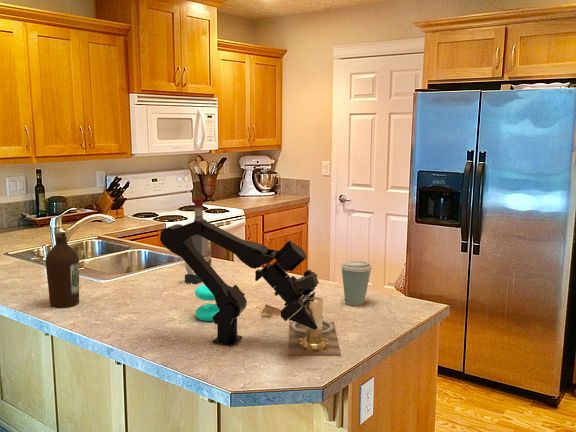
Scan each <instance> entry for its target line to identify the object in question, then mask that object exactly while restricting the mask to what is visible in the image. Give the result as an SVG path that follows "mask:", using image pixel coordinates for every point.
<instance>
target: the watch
mask: <svg viewBox="0 0 576 432" xmlns="http://www.w3.org/2000/svg"><path fill="white" fill-rule="evenodd" d="M185 271H186V272H187V274H186V273H185V274H184V283H185V284H191V283H192V284H191V285H199V284H201V283H203V282H202V281H201V280H200V279H199V277H198V276H197V275H196V274H195V273H194V272H193V270H192V269H191V268H190V267H189V266H188V264H187V263H186V262H185ZM198 283H199V284H198Z"/></svg>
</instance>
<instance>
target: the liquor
mask: <svg viewBox="0 0 576 432" xmlns="http://www.w3.org/2000/svg"><path fill="white" fill-rule="evenodd" d="M193 202H194V220H193V222H194V221H196V220H198V219H204V213H203V212H204V211H203V210H204V209H203V207H204V202H203V198H200V197H199V198H194V201H193ZM191 238H192V241H193V244H194V247H195V248H196V249H197V251H198V252H199V253H200V254H201V255H202V256H203V258H204V259H205V260H206V261H207V262H208V263H209V265H210V266H211V264H212V242H211V241H209V240H207V239H205V238H203V237H202V236H200V235H194V236H191Z"/></svg>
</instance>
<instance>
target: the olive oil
mask: <svg viewBox="0 0 576 432" xmlns="http://www.w3.org/2000/svg"><path fill="white" fill-rule="evenodd" d="M44 262H45V271H46V278H47V286H48V287H47V288H48V298H49V305H50V308H54V307H55V309H65V308H71V307H75V306H77V305H79V303H80V257H79V255H78V253H77V251H76V250H75V249H73V248H72V247H71V246H70V245H69V244H68V242H67V232H65V231H64V232H63V231H60V232H55V245H54V246H53V247H52V248H51V249H50V250H49V251H48V252H47V254H46V257H45V261H44Z"/></svg>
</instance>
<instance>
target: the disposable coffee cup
mask: <svg viewBox="0 0 576 432" xmlns="http://www.w3.org/2000/svg"><path fill="white" fill-rule="evenodd" d="M340 267H341V274H342V286H343V295H344V296H343V297H344V301H345V303H346V304H347V306H348V305H349V306H355V307H356V306H362V305H364V303H365V302H366V301H365V300H366V296H367V291H368V287H369V286H368V285H369V281H370V280H369V279H370V275H371V271H372V268H373V267H372V266H371V262H370V261H366V260H348V261H344V262H342V264H341V266H340Z"/></svg>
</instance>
